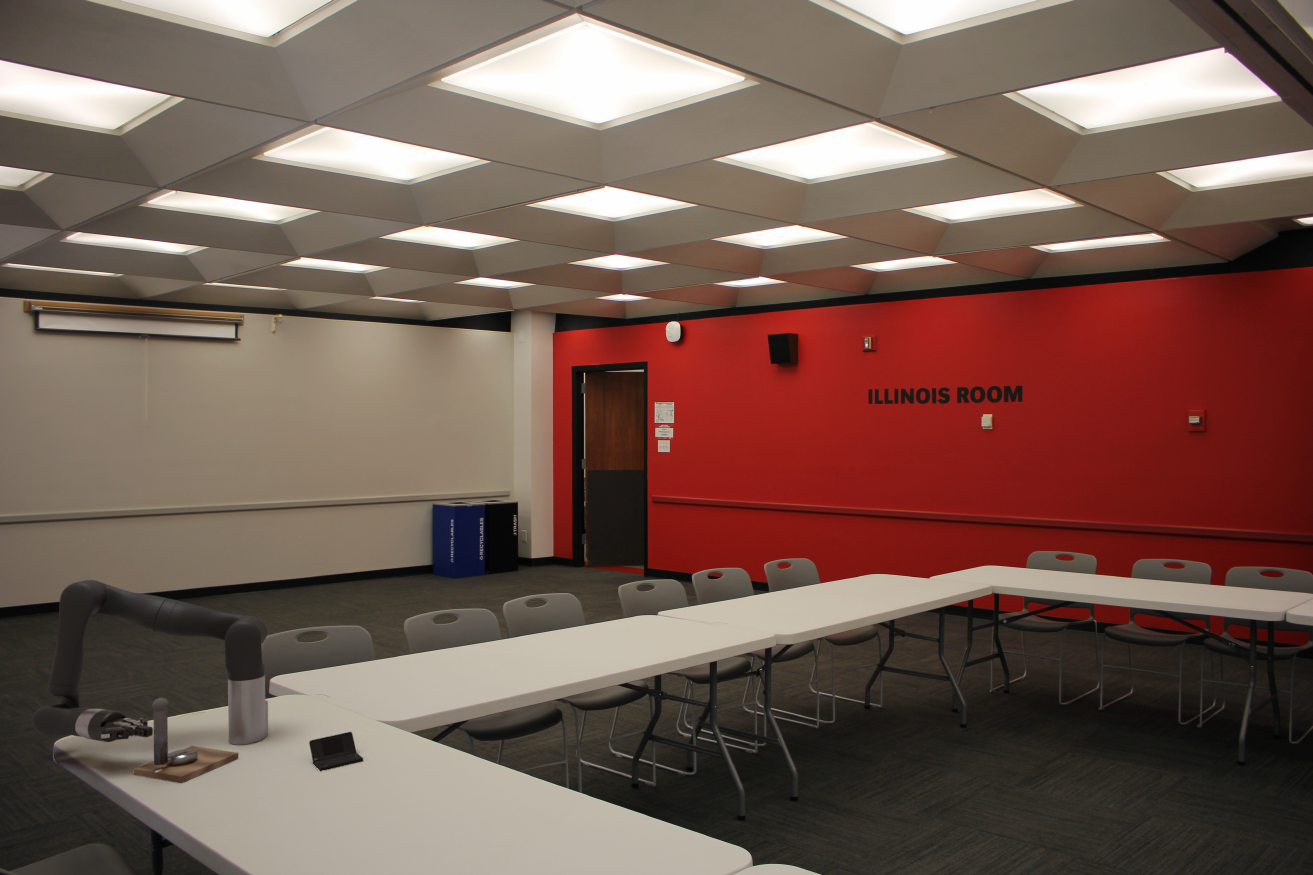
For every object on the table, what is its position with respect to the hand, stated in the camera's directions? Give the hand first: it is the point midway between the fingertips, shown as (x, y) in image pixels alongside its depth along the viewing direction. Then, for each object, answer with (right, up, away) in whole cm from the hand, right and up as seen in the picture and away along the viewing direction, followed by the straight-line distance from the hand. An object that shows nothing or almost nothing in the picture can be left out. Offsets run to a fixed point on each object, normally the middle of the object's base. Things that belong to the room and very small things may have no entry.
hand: (150, 732), depth 216 cm
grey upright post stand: (+5, -8, +1) cm, 10 cm away
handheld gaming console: (+44, -10, +6) cm, 46 cm away
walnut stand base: (+7, -10, +4) cm, 13 cm away
